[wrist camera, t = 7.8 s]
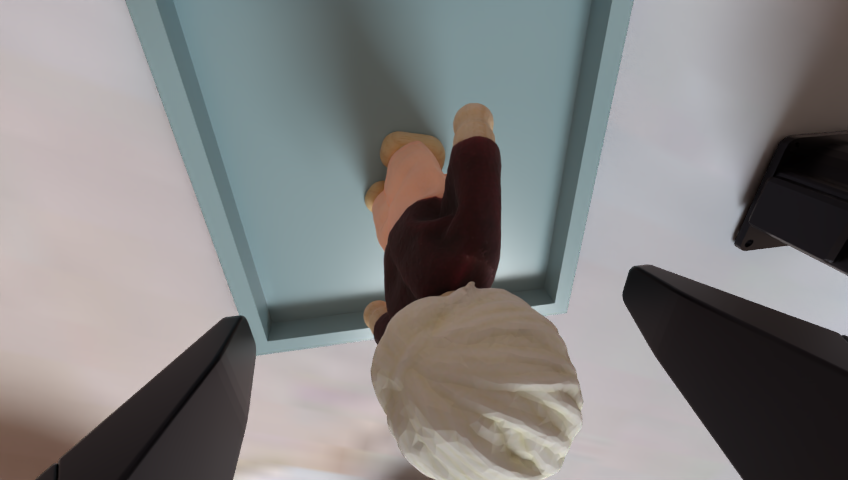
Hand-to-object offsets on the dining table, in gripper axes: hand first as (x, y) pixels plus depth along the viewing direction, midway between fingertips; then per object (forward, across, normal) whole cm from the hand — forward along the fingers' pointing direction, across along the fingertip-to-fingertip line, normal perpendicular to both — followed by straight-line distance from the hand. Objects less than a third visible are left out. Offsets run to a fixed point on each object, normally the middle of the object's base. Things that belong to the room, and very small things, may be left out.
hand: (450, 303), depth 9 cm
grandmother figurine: (+9, 0, 0) cm, 9 cm away
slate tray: (+9, 0, 0) cm, 9 cm away
